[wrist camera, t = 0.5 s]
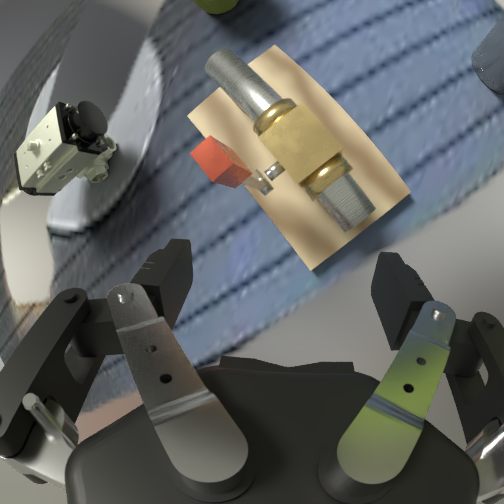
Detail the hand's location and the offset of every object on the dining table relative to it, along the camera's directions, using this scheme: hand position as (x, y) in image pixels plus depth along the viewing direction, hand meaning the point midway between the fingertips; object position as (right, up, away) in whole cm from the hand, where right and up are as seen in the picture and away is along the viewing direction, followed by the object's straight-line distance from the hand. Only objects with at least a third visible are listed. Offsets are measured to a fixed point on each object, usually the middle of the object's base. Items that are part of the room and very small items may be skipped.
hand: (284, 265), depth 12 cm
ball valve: (-29, +18, +38) cm, 51 cm away
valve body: (+4, +15, +28) cm, 31 cm away
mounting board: (+5, +15, +29) cm, 33 cm away
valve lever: (0, +8, +22) cm, 24 cm away
